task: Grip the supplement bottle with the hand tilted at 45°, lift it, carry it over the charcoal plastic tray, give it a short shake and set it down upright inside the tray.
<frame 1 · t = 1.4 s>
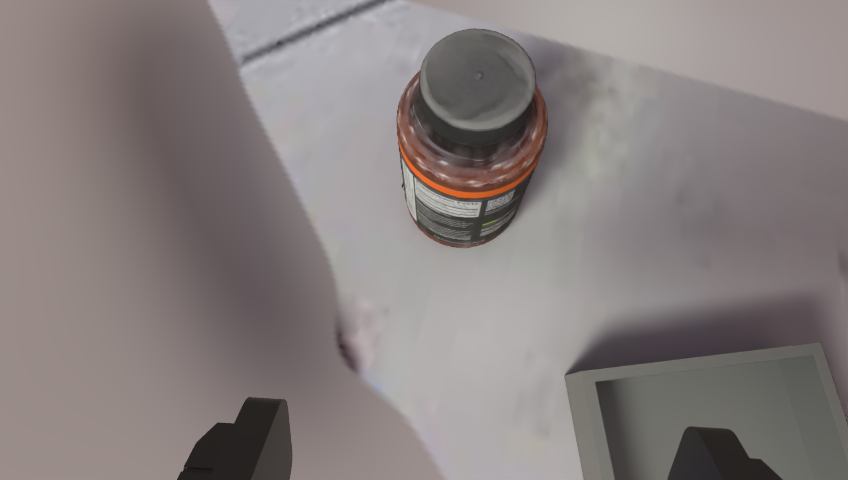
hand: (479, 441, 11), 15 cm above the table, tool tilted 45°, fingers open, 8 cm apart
supplement bottle: (460, 199, 30), on the table
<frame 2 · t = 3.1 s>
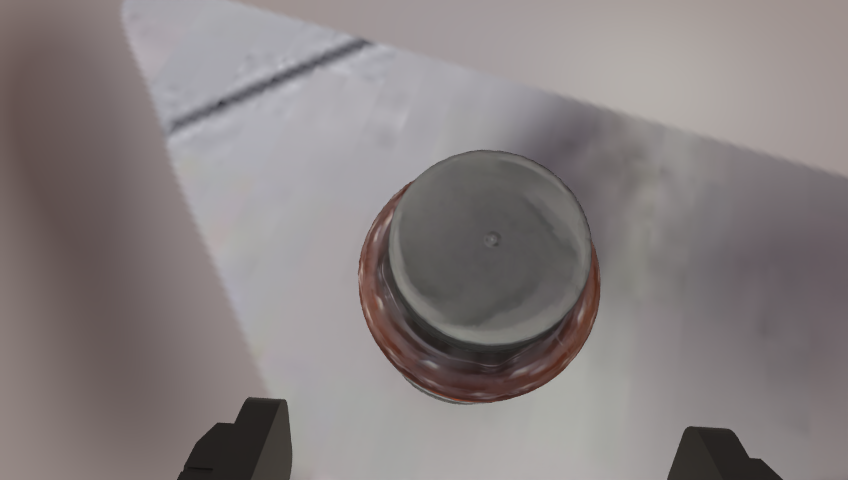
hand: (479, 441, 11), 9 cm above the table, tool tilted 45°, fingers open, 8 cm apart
supplement bottle: (460, 326, 22), on the table
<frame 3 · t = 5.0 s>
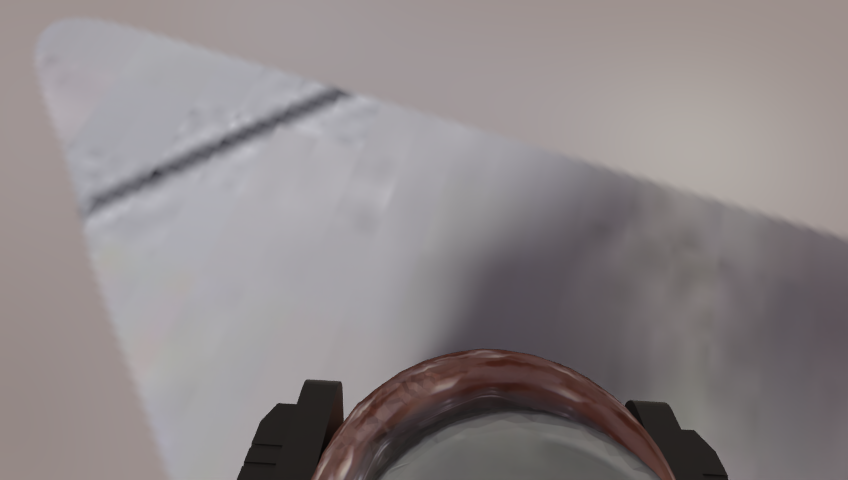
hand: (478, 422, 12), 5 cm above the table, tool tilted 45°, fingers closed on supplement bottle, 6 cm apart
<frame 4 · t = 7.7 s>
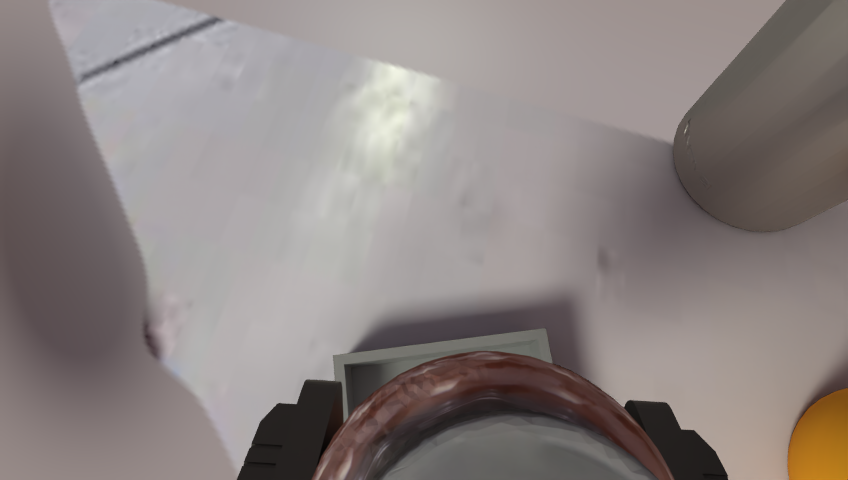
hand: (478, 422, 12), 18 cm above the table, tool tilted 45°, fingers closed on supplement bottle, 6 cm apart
tray: (452, 450, 29), on the table
when the fingers open (7 cm above the table, at t = 10.6 s): supplement bottle drops 2 cm, resting on tray.
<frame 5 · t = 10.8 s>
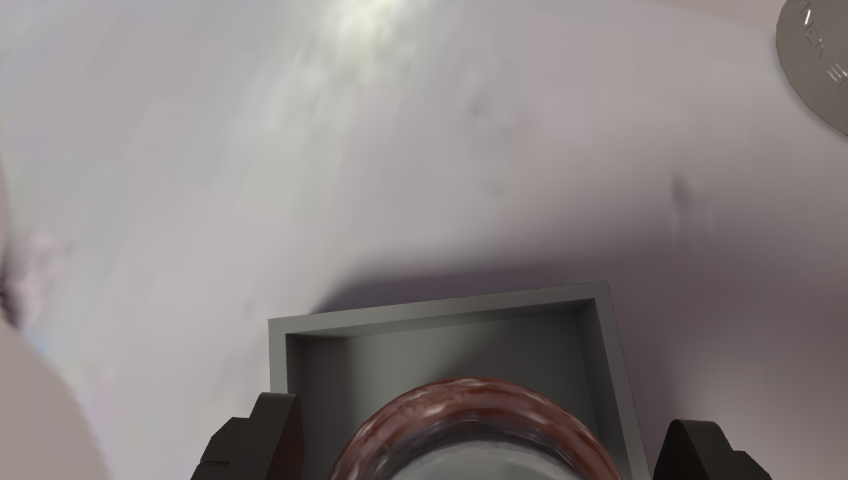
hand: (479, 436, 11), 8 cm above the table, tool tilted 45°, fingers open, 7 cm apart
tray: (456, 472, 18), on the table
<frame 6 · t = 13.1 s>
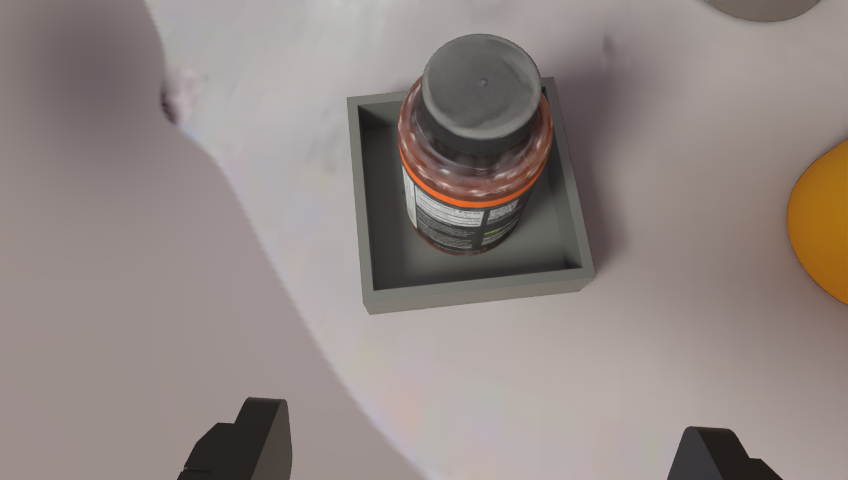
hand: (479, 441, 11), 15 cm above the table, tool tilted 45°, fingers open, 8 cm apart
tray: (460, 205, 29), on the table
supplement bottle: (462, 206, 29), resting on tray
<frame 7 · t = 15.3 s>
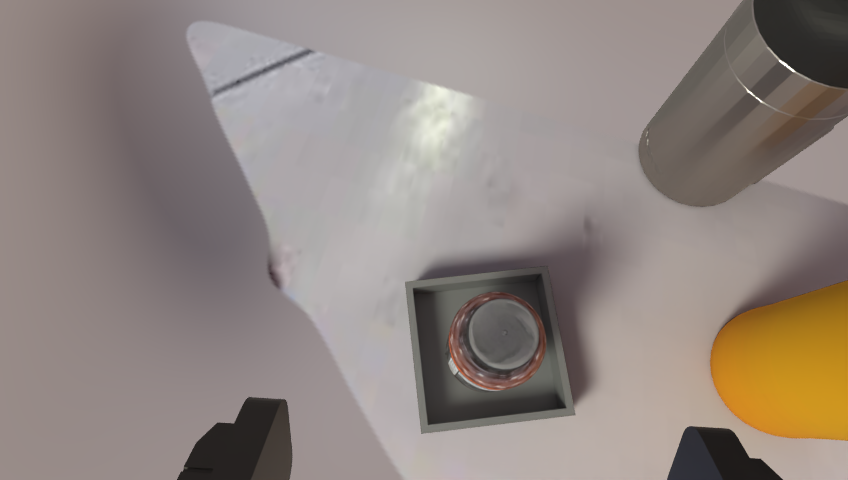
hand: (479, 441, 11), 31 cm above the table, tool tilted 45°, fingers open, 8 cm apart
tray: (483, 350, 42), on the table
yellow bottle: (765, 371, 42), on the table
supplement bottle: (484, 352, 42), resting on tray
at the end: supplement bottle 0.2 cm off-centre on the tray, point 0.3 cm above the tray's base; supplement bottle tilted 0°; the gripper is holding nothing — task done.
